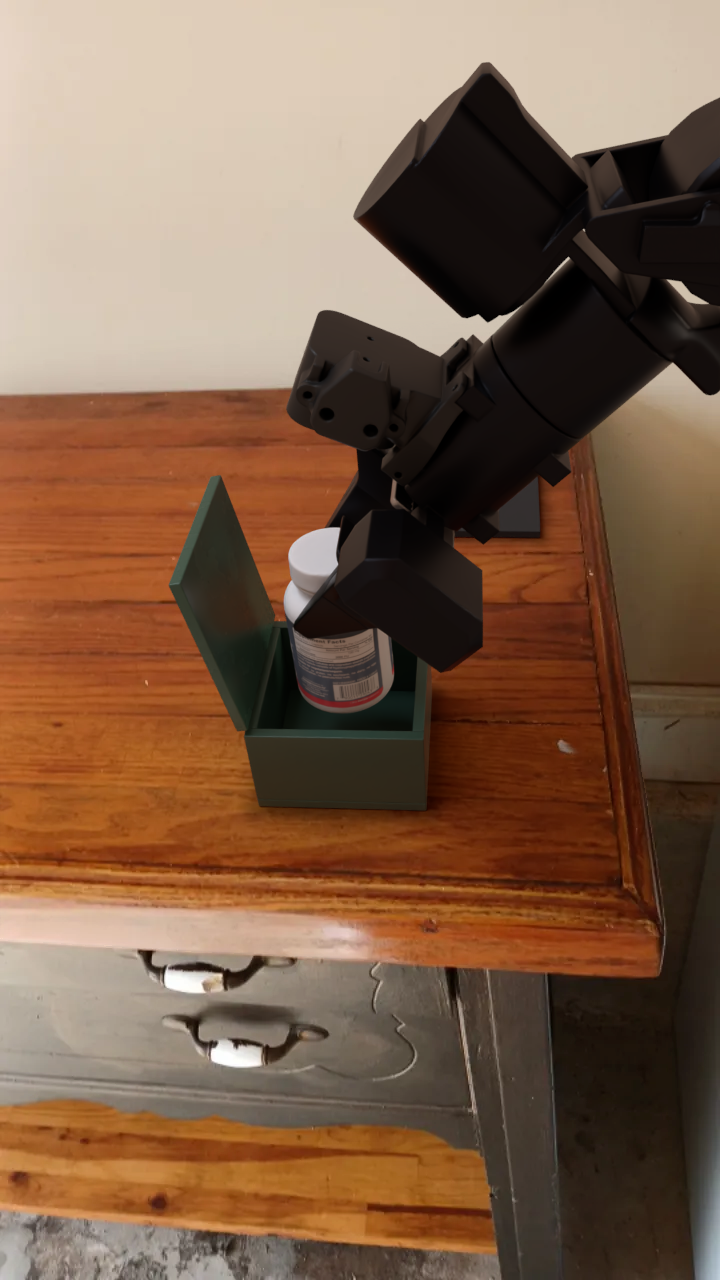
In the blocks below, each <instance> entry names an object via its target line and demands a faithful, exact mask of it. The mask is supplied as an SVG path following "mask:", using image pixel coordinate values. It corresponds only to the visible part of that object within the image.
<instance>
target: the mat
mask: <svg viewBox="0 0 720 1280" xmlns="http://www.w3.org/2000/svg"><path fill="white" fill-rule="evenodd" d="M539 491H540V490H539V476H538V477H537V478H535V479H534V480H533V481H532V482H531V483H529V484H528V485H527V486H526V487H525V488H524V489H522V490H521V491H520V492H519V493H518V494H516V495H515V496H514V497H513V498H512V499H510V500H509V501H508V502H507V503H506V504H505V505H503V506H502V507H501V508H500V509H499V525H500V532H498V533H497V534H496V535H495V536H493V537H492V538H510V539H511V538H515V539H516V538H520V539H521V538H522V539H524V538H525V539H526V538H527V539H529V538H530V539H531V538H532V539H539V538H541V516H540V514H541V513H540V493H539ZM454 538H474V537H473V536H472V535H470V534H469V533H468V532H467V531H465V530H464V529H463V528H461V529H460V530H458V531H457V532H456V531H455V535H454Z"/></svg>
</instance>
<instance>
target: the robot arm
mask: <svg viewBox="0 0 720 1280" xmlns="http://www.w3.org/2000/svg"><path fill="white" fill-rule="evenodd" d="M352 216H353V220H354V221H356V222H357V223H358V224H359V225H360V226H361V227H362V228H363V229H364V230H365V231H366V232H368V234H370V235H371V236H372V237H373V238H374V239H375V240H376V241H377V242H379V244H381V246H383V248H385V249H386V250H387V251H388V252H389V253H391V255H392V256H393V257H394V258H396V259H397V260H398V261H399V262H400V263H401V264H402V265H403V266H405V267H406V268H407V269H408V270H409V271H410V272H411V273H412V274H413V275H415V277H417V278H418V279H419V280H420V282H422V283H423V284H424V285H425V286H426V287H428V288H429V289H430V290H431V291H432V292H433V293H434V294H435V295H436V296H437V297H438V298H439V299H441V301H443V302H444V303H445V304H446V305H447V306H449V308H450V309H452V310H453V311H454V312H455V313H456V314H457V315H458V316H459V317H460V318H462V319H469V318H473V317H476V316H479V317H480V318H481V319H483V320H484V322H486V323H487V324H489V323H490V322H492V321H494V320H495V319H497V318H498V317H499V316H501V317H503V316H508V315H509V314H510V315H511V316H510V317H508V318H507V319H506V321H505V322H504V323H503V324H502V325H500V327H499V328H498V329H497V330H496V331H495V332H494V333H492V334H491V335H490V336H489V337H488V338H487V339H486V341H484V342H482V340H481V339H479V338H478V337H477V336H476V335H475V334H473V333H472V335H470V336H469V337H468V338H467V339H465V338H464V337H460V338H458V339H456V341H455V342H454V343H453V344H452V345H451V346H450V347H449V348H448V349H447V350H446V351H445V352H443V353H442V354H441V355H438V354H435V353H434V352H431V351H429V350H427V349H425V348H422V347H420V346H418V345H417V344H416V343H415V342H413V341H411V340H409V339H408V338H405V337H404V336H401V335H398V334H396V333H393V332H391V331H388V330H385V329H383V328H381V327H378V326H376V325H373V324H371V323H368V322H366V321H363V320H360V319H358V318H356V317H353V316H350V315H348V314H346V313H343V312H340V311H337V310H333V309H322V310H320V311H319V312H318V313H317V315H316V317H315V321H314V323H313V326H312V328H311V331H310V335H309V338H308V341H307V344H306V346H305V349H304V351H303V355H302V358H301V360H300V363H299V366H298V369H297V372H296V375H295V377H294V380H293V383H292V386H291V391H290V393H289V397H288V400H287V403H286V407H285V410H286V413H287V415H288V416H289V418H290V419H291V420H292V421H293V422H295V423H296V424H298V425H300V426H301V427H304V428H306V429H309V430H311V431H314V432H315V433H316V435H319V436H321V437H323V438H326V439H328V440H332V441H334V442H337V443H339V444H342V445H344V446H348V447H350V448H353V449H356V462H357V471H356V473H355V474H354V476H353V478H352V480H351V481H350V483H349V485H348V487H347V488H346V489H345V492H344V493H343V496H342V497H341V498H340V501H339V502H338V504H337V506H336V508H334V510H333V512H332V514H331V516H330V518H329V519H328V521H327V523H326V525H325V526H324V528H340V532H339V537H338V543H337V548H336V558H337V562H338V566H337V567H336V568H335V569H334V571H333V572H332V573H331V574H330V576H329V577H328V578H327V579H326V581H325V582H324V583H323V585H322V586H321V587H320V588H319V590H318V591H317V592H316V593H315V595H314V596H313V597H312V598H311V600H310V601H309V602H308V604H307V605H306V606H305V608H304V609H303V610H302V612H301V613H300V615H299V616H298V617H297V619H296V620H295V622H294V626H293V628H294V630H295V631H297V632H298V633H300V634H301V635H303V636H304V637H305V638H307V639H315V638H321V637H327V636H332V635H338V634H344V633H350V632H356V631H361V630H367V629H374V628H378V629H379V630H381V631H382V632H384V633H385V634H386V635H388V636H389V637H391V638H392V639H393V640H395V641H396V642H398V643H399V644H400V645H402V646H403V647H405V648H406V649H407V650H409V651H410V652H412V653H413V654H415V655H416V656H417V657H419V658H420V659H422V660H423V661H424V662H426V663H427V664H429V665H430V666H431V668H433V669H434V670H435V671H437V672H438V673H440V674H443V673H447V672H451V671H452V670H454V669H455V668H457V667H458V666H460V665H461V664H462V663H463V662H465V661H466V660H468V659H469V658H470V657H472V656H473V655H474V654H476V653H477V652H478V651H480V650H481V649H482V648H483V647H484V602H483V601H484V594H483V592H484V589H483V569H482V568H481V567H479V566H478V565H477V564H475V563H474V562H473V561H471V560H470V559H469V558H467V556H465V555H464V554H462V553H461V552H459V550H457V549H456V548H455V537H454V535H455V531H456V532H457V531H458V530H460V529H461V528H463V529H464V530H465V531H467V532H468V533H469V534H470V535H472V536H473V537H472V538H474V539H475V540H477V541H478V542H479V543H480V544H482V545H483V546H484V545H485V544H486V543H488V542H489V541H490V540H491V539H492V538H494V537H493V536H495V535H496V534H497V533H498V532H500V525H499V509H500V508H501V507H502V506H503V505H505V504H506V503H507V502H508V501H509V500H510V499H512V498H513V497H514V496H515V495H516V494H518V493H519V492H520V491H521V490H522V489H524V488H525V487H526V486H527V485H528V484H529V483H531V482H532V481H533V480H534V479H535V478H537V477H538V478H539V476H540V477H541V478H542V479H543V480H544V481H545V482H546V483H548V484H549V485H550V486H551V487H552V488H554V487H555V486H557V485H558V484H559V483H561V481H563V480H564V479H565V478H566V477H568V476H569V475H570V474H572V465H571V459H570V452H569V451H570V450H571V449H573V448H574V447H575V446H576V445H577V444H578V443H579V442H580V441H582V440H583V439H584V438H585V437H587V436H588V435H589V434H590V433H592V431H594V429H596V428H597V427H599V426H600V424H602V423H603V422H604V421H605V420H606V419H608V418H609V417H610V416H611V415H613V414H614V413H615V412H616V411H617V410H619V408H621V407H622V406H623V405H625V404H626V403H627V402H628V401H629V400H631V398H633V397H634V396H636V394H637V393H639V392H640V391H642V389H643V388H645V387H646V386H647V385H648V384H649V383H650V382H652V381H653V380H654V379H655V378H656V377H658V376H659V375H660V374H661V373H662V372H664V371H665V370H666V369H668V367H670V366H671V365H672V364H674V366H676V367H677V368H678V369H679V371H680V372H682V373H683V375H685V376H686V377H687V378H688V379H689V380H690V381H691V382H692V383H693V384H694V385H695V386H696V387H697V388H698V390H700V391H701V392H702V394H704V395H706V396H714V395H717V394H718V393H720V96H719V97H717V98H715V99H713V100H711V101H709V102H707V103H705V104H703V105H701V106H700V107H698V108H697V109H695V110H693V111H691V112H690V113H689V114H688V115H687V116H685V118H684V119H683V120H681V121H680V122H679V123H678V124H677V125H675V127H673V128H672V129H671V130H670V132H669V133H668V134H666V135H661V136H656V137H652V138H647V139H641V140H637V141H632V142H627V143H623V144H618V145H614V146H609V147H604V148H600V149H594V150H590V151H585V152H580V153H576V154H575V155H573V156H572V157H571V156H570V155H569V154H568V153H567V152H566V151H565V150H564V148H563V147H562V146H560V144H559V143H558V142H557V141H556V140H555V139H554V138H553V137H552V135H550V134H549V132H547V130H546V129H545V128H544V127H543V126H542V125H541V124H540V123H539V122H538V121H537V120H536V119H535V117H533V116H532V115H531V113H530V112H529V111H528V110H527V109H526V107H525V106H524V105H523V102H522V101H521V99H520V98H519V95H518V94H517V92H516V90H515V88H514V87H513V86H512V85H511V83H510V81H508V79H507V78H506V77H505V76H503V74H502V73H501V72H500V71H499V70H498V69H497V68H496V67H495V66H494V65H493V64H492V62H490V61H486V62H481V63H480V64H479V65H478V66H477V68H476V69H475V70H474V71H473V72H472V74H470V76H469V77H468V79H467V80H466V81H465V82H464V83H463V85H462V86H460V87H459V88H457V89H456V90H454V91H453V92H452V93H451V94H449V95H448V96H447V97H446V98H445V99H443V101H442V102H441V103H440V104H439V105H438V106H437V107H436V108H435V109H434V110H433V111H432V112H431V113H430V115H428V117H427V118H426V119H425V120H423V119H422V118H419V119H418V120H417V121H416V122H415V123H414V125H413V126H412V127H411V128H410V129H409V130H408V132H407V133H406V134H405V136H404V137H403V138H402V139H401V140H400V142H399V143H398V145H397V146H396V147H395V148H394V150H393V151H392V152H391V154H390V155H389V156H388V158H387V159H386V161H385V162H384V163H383V164H382V166H381V167H380V169H379V170H378V172H377V173H376V175H375V176H374V177H373V178H372V181H371V182H370V183H369V185H368V186H367V188H366V190H365V191H364V193H363V194H362V197H361V198H360V200H359V202H358V203H357V205H356V208H355V210H354V212H353V215H352ZM567 259H568V260H567ZM566 260H567V261H566ZM565 261H566V262H565ZM564 262H565V263H564ZM563 263H564V264H563ZM561 265H562V266H561ZM560 266H561V267H560ZM559 267H560V268H559ZM558 268H559V269H558ZM670 281H674V282H679V283H682V285H683V286H684V287H685V289H686V290H687V291H688V292H689V293H690V294H691V295H693V296H695V297H697V298H699V299H700V300H702V301H703V302H705V303H695V302H691V301H688V300H687V299H686V298H685V297H684V296H683V295H682V294H681V293H680V292H679V291H678V290H677V289H676V287H674V286H673V284H672V283H670ZM513 312H514V313H513ZM511 313H513V314H511Z"/></svg>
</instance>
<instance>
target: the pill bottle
mask: <svg viewBox="0 0 720 1280" xmlns="http://www.w3.org/2000/svg"><path fill="white" fill-rule="evenodd" d="M339 532H340V528H325V527H324V528H319V529H316V530H315V529H314V530H313V531H310V532H307V533H305V534H303V535H302V536H300V537H298V538H297V539H296V540H295V541H294V542H293V543H292V544H291V546H290V548H289V550H288V555H287V556H288V557H287V559H288V566H289V575H290V578H291V580H290V582H289V583H288V585H287V587H286V588H285V591H284V595H283V609H284V615H285V621H287V627H288V632H289V638H290V644H291V649H292V655H293V660H294V666H295V671H296V677H297V682H298V687H299V690H300V692H301V694H302V696H303V697H304V699H305V700H306V701H307V702H308V703H310V704H311V705H312V706H314V707H316V708H318V709H320V710H323V711H326V712H330V713H340V714H343V713H354V712H358V711H362V710H365V709H367V708H369V707H371V706H373V705H375V704H376V703H378V702H379V701H380V700H381V699H383V698H384V697H385V695H386V694H387V693H388V691H389V690H390V688H391V686H392V683H393V679H394V664H393V654H392V644H391V637H389V636H388V635H386V634H385V633H384V632H382V631H381V630H379V629H378V628H374V629H367V630H361V631H356V632H350V633H344V634H338V635H332V636H327V637H321V638H315V639H307V638H305V637H304V636H303V635H301V634H300V633H298V632H297V631H295V630H294V628H293V626H294V622H295V620H296V619H297V617H298V616H299V615H300V613H301V612H302V610H303V609H304V608H305V606H306V605H307V604H308V602H309V601H310V600H311V598H312V597H313V596H314V595H315V593H316V592H317V591H318V590H319V588H320V587H321V586H322V585H323V583H324V582H325V581H326V579H327V578H328V577H329V576H330V574H331V573H332V572H333V571H334V569H335V568H336V567H337V566H338V562H337V558H336V548H337V543H338V537H339Z"/></svg>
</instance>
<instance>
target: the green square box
mask: <svg viewBox="0 0 720 1280" xmlns="http://www.w3.org/2000/svg"><path fill="white" fill-rule="evenodd" d="M391 644H392V654H393V664H394V679H393V683H392V686H391V688H390V690H389V691H388V693H387V694H386V695H385V697H384V698H383V699H381V700H380V701H379V702H378V703H376V704H375V705H373V706H371V707H369V708H367V709H365V710H362V711H358V712H354V713H343V714H340V713H330V712H326V711H323V710H320V709H318V708H316V707H314V706H312V705H311V704H310V703H308V702H307V701H306V700H305V699H304V697H303V696H302V694H301V692H300V690H299V687H298V682H297V677H296V671H295V666H294V660H293V655H292V649H291V644H290V638H289V632H288V627H287V621H286V620H274V623H273V627H272V632H271V636H270V640H269V644H268V648H267V652H266V656H265V660H264V664H263V668H262V673H261V677H260V681H259V685H258V689H257V693H256V697H255V701H254V705H253V710H252V714H251V718H250V722H249V726H248V730H247V731H244V734H243V740H244V744H245V749H246V752H247V758H248V762H249V769H250V771H251V772H250V773H251V777H252V781H253V786H254V791H255V795H256V798H257V805H258V807H278V808H312V809H313V808H314V809H352V810H353V809H354V810H384V811H385V810H387V811H390V810H391V811H423V812H424V811H427V808H428V804H427V803H428V787H429V785H428V784H429V766H430V765H429V763H430V744H431V743H430V742H431V723H432V721H431V720H432V702H433V701H432V699H433V679H432V678H433V676H432V673H433V672H432V667H431V666H430V665H429V664H427V663H426V662H424V661H423V660H422V659H420V658H419V657H417V656H416V655H415V654H413V653H412V652H410V651H409V650H407V649H406V648H405V647H403V646H402V645H400V644H399V643H398V642H396V641H395V640H393V639H392V638H391Z"/></svg>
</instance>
